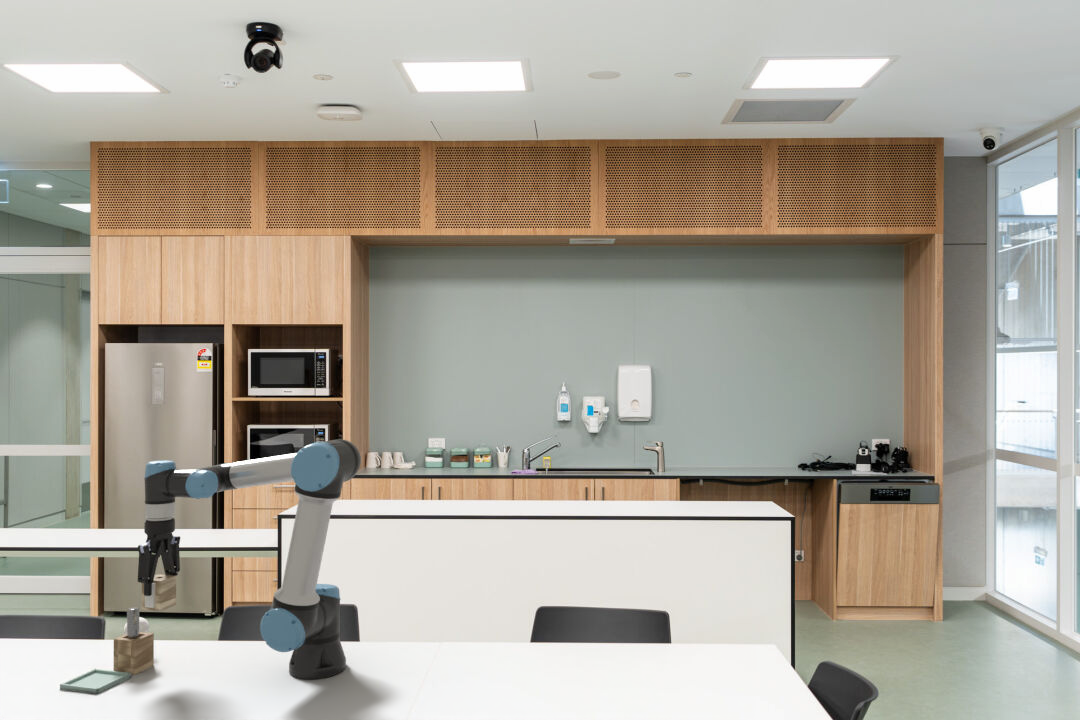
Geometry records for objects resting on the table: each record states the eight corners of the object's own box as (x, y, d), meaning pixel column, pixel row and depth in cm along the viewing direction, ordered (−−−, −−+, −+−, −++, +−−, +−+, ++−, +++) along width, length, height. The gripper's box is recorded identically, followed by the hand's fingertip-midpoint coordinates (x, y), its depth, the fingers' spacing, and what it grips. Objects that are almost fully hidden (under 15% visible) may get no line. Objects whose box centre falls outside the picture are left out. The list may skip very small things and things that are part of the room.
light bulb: (130, 661, 233) (130, 622, 233) (119, 656, 237) (119, 618, 237) (153, 655, 238) (153, 616, 239) (141, 650, 242) (142, 612, 243)
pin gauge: (141, 662, 228) (141, 607, 228) (133, 665, 225) (133, 610, 225) (132, 661, 229) (132, 606, 229) (124, 664, 226) (124, 610, 226)
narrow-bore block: (176, 605, 226) (176, 575, 226) (160, 611, 220) (160, 581, 220) (157, 603, 227) (157, 574, 227) (141, 609, 222) (141, 579, 222)
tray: (130, 677, 221) (130, 672, 221) (97, 693, 210) (97, 689, 210) (95, 673, 224) (95, 668, 224) (59, 689, 213) (59, 684, 213)
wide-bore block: (153, 665, 230) (153, 633, 230) (135, 674, 223) (135, 641, 223) (132, 663, 232) (132, 631, 232) (113, 672, 225) (113, 639, 225)
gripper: (172, 511, 234) (171, 593, 234) (121, 523, 216) (121, 612, 216) (195, 513, 232) (194, 595, 232) (145, 525, 214) (145, 614, 214)
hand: (159, 603), depth 224 cm, fingers closed on narrow-bore block, 6 cm apart
